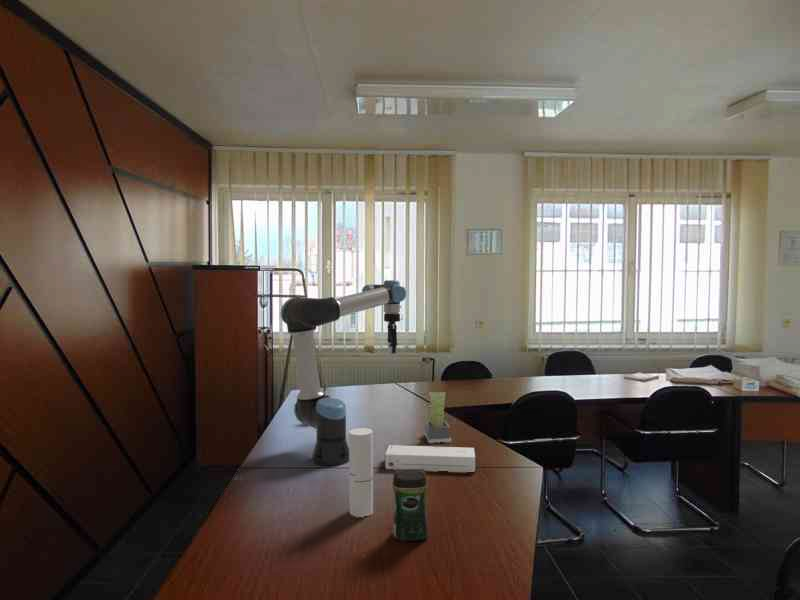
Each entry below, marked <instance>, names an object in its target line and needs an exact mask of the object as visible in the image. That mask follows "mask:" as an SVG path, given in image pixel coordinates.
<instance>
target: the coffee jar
mask: <svg viewBox="0 0 800 600" xmlns="http://www.w3.org/2000/svg"><path fill="white" fill-rule="evenodd" d="M426 476H427V475H426V471H424V469H396V470H394V473H393V478H392V489H393V492H394V497H395V499H394V501H395V502H394V516H393V529H392V530H393V536H394V538H395V539H396V540H398V541H400V540H401V542H419V540H420V541H423V540H425V539H426V538H427V537H428V534H429V533H428V532H429V528H428V518H427V511H426V509H427V508H426V491H427V487H428V481H427V477H426Z"/></svg>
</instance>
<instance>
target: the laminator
mask: <svg viewBox="0 0 800 600" xmlns="http://www.w3.org/2000/svg"><path fill="white" fill-rule="evenodd" d="M476 462H477V457H476V449H475V447H460V446H459V447H456V446H428V445H398V444H397V445H394V444H392V445H391V444H389V445H387V448H386V451H385V453H384V469H385V470H386V469H394V470H393V471H395V470H396V469H424V470H426V471H425V472H438V471H448V472H447V473H467V472H474V473H476V470H477V463H476Z"/></svg>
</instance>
